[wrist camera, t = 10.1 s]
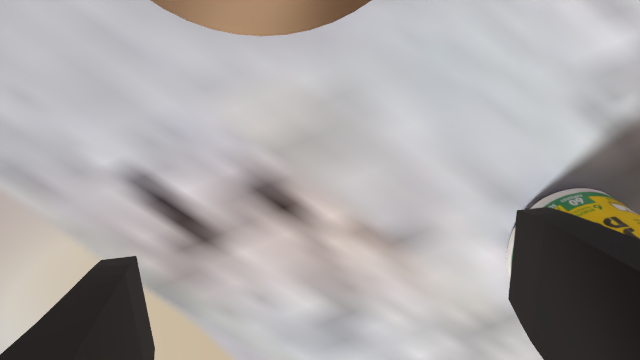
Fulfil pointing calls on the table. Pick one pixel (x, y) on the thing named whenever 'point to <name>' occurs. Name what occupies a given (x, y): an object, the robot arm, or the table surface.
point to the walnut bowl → (261, 14)
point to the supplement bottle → (588, 212)
